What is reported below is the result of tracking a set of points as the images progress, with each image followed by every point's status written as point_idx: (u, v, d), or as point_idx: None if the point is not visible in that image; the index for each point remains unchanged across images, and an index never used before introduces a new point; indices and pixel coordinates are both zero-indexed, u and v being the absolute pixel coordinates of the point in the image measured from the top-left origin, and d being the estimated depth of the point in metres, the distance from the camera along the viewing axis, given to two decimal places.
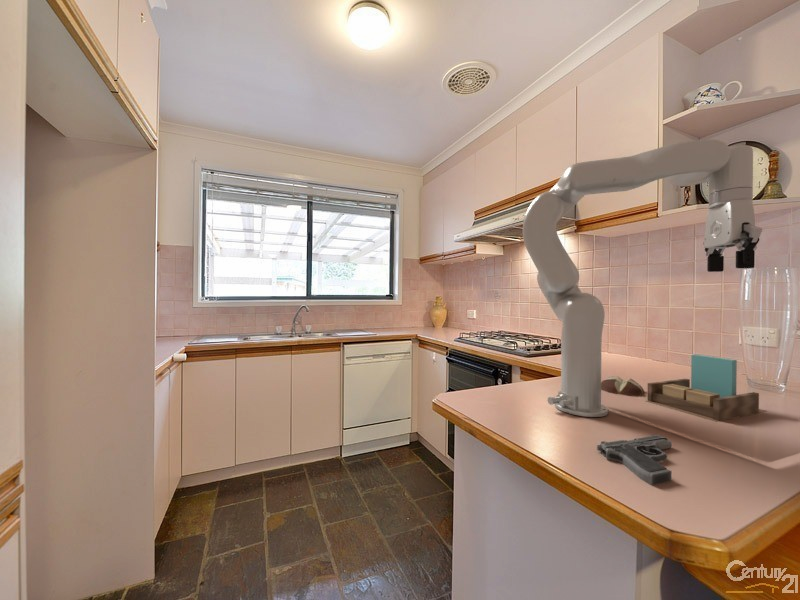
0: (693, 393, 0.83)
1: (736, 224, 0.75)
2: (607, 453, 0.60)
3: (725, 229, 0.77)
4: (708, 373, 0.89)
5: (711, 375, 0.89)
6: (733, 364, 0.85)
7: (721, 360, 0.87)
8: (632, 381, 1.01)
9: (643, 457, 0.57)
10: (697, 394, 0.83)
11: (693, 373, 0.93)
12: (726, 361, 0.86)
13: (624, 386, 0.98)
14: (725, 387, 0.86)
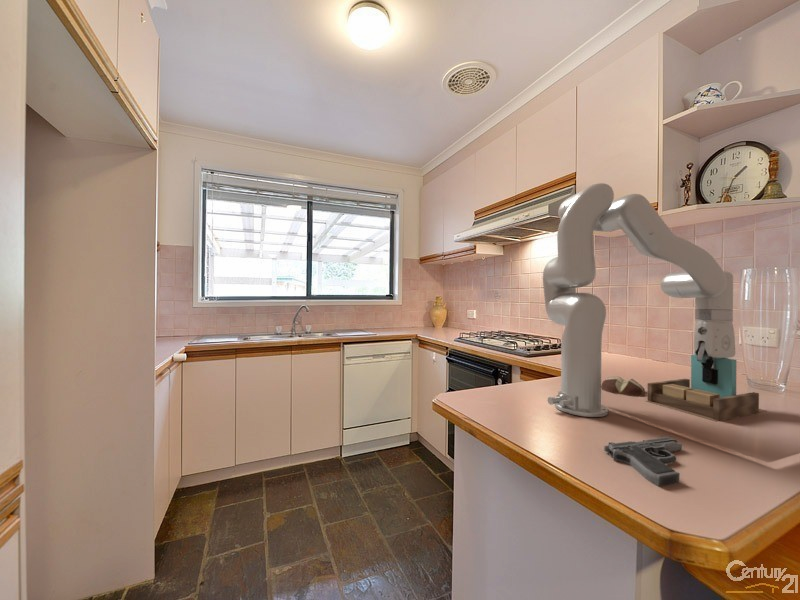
0: (693, 393, 0.83)
1: None
2: (614, 454, 0.60)
3: (732, 345, 0.88)
4: None
5: None
6: (733, 364, 0.85)
7: (721, 360, 0.87)
8: (633, 381, 1.01)
9: (651, 459, 0.57)
10: (697, 394, 0.83)
11: (693, 373, 0.93)
12: (726, 361, 0.86)
13: (625, 386, 0.98)
14: (725, 387, 0.86)
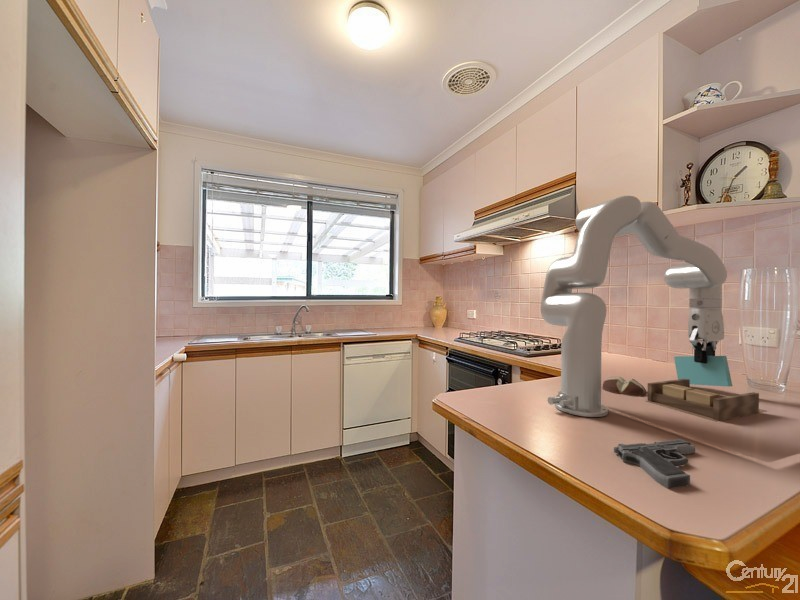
0: (693, 393, 0.83)
1: None
2: (623, 455, 0.59)
3: (721, 329, 1.01)
4: (706, 369, 1.01)
5: (705, 371, 1.01)
6: None
7: (725, 378, 0.97)
8: (634, 381, 1.01)
9: (661, 460, 0.56)
10: (697, 394, 0.83)
11: None
12: (725, 382, 0.97)
13: (626, 386, 0.98)
14: (697, 380, 1.03)
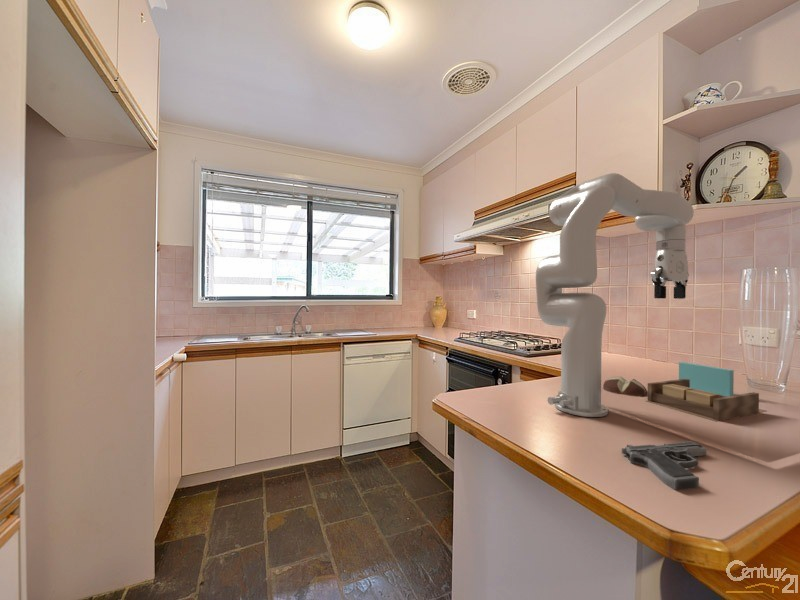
0: (693, 393, 0.83)
1: None
2: (631, 456, 0.59)
3: (685, 269, 1.06)
4: (710, 380, 1.00)
5: (709, 382, 1.00)
6: None
7: (727, 393, 0.96)
8: (635, 381, 1.01)
9: (669, 462, 0.55)
10: (697, 394, 0.83)
11: (707, 368, 1.01)
12: None
13: (627, 386, 0.98)
14: (699, 389, 1.03)
